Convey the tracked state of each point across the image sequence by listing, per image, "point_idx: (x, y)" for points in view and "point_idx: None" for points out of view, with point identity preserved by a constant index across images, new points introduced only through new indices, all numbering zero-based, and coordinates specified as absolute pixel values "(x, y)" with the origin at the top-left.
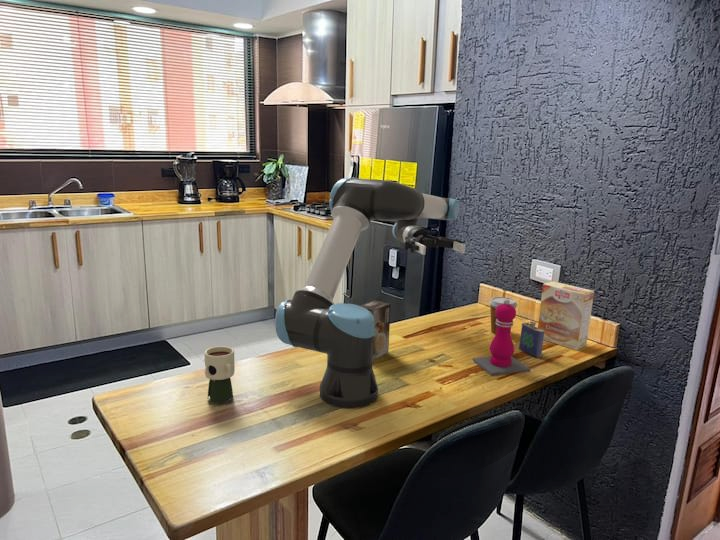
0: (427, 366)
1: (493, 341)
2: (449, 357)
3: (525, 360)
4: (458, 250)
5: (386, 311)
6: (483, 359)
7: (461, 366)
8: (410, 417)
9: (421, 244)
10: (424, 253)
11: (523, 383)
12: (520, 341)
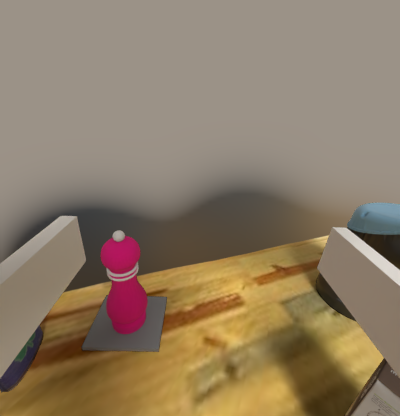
0: (245, 347)
1: (142, 294)
2: (191, 377)
3: (72, 330)
4: (53, 294)
5: (376, 374)
6: (144, 338)
7: (190, 334)
8: (282, 255)
9: (378, 263)
10: (324, 263)
11: (145, 276)
12: (11, 373)
